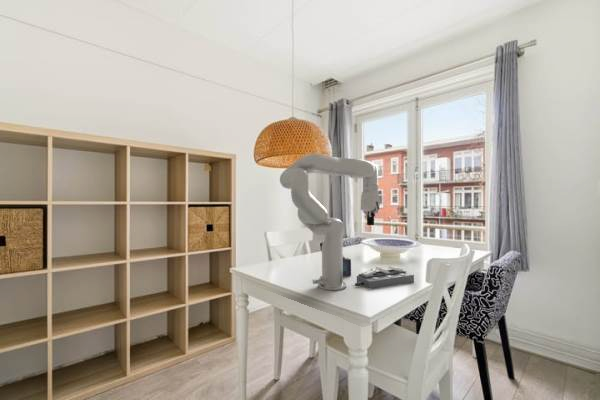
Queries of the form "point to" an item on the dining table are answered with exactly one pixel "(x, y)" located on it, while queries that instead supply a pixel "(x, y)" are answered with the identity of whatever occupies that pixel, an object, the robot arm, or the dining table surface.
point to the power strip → (384, 279)
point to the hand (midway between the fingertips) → (370, 224)
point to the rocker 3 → (395, 268)
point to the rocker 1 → (369, 272)
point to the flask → (346, 267)
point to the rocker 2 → (382, 270)
